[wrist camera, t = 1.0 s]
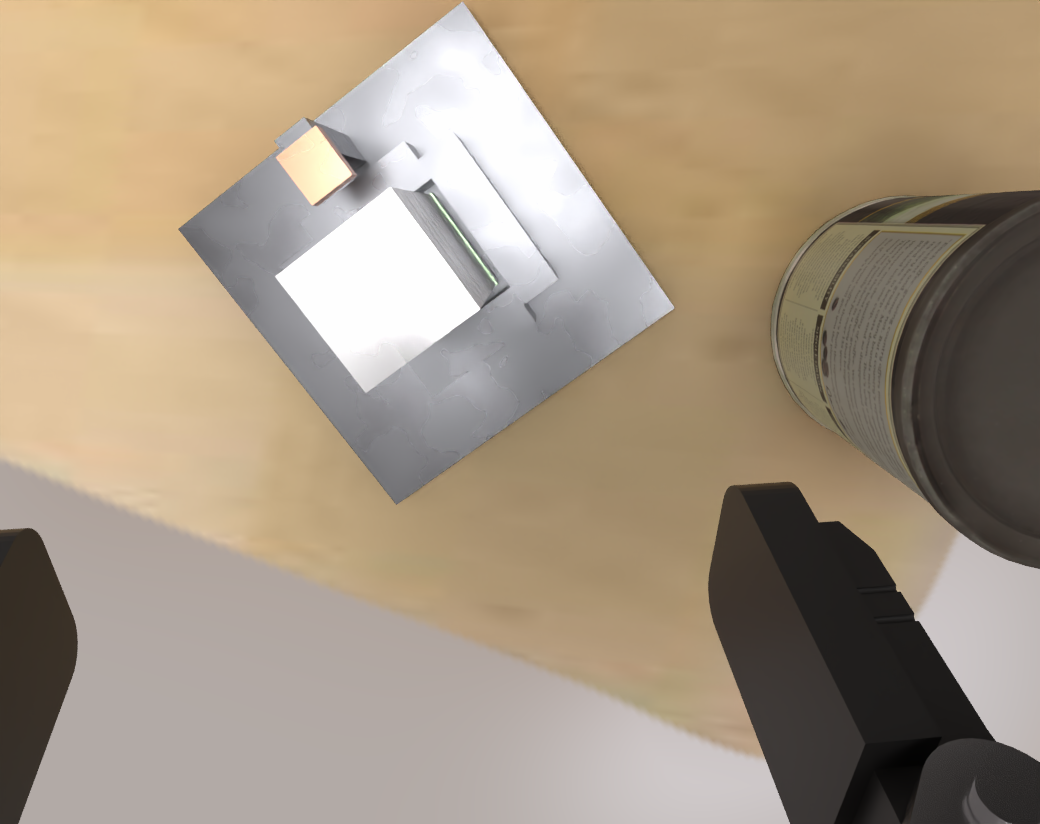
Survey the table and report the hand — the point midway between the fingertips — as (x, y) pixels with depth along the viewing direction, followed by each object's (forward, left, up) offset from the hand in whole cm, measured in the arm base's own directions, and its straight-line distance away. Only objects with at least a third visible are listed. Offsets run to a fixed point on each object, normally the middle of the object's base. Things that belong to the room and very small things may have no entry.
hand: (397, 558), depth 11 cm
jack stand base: (+1, -3, -27) cm, 27 cm away
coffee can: (-13, +10, -27) cm, 31 cm away
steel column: (+1, -3, -25) cm, 25 cm away
